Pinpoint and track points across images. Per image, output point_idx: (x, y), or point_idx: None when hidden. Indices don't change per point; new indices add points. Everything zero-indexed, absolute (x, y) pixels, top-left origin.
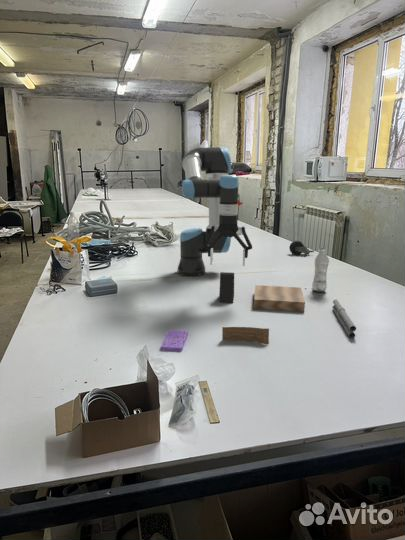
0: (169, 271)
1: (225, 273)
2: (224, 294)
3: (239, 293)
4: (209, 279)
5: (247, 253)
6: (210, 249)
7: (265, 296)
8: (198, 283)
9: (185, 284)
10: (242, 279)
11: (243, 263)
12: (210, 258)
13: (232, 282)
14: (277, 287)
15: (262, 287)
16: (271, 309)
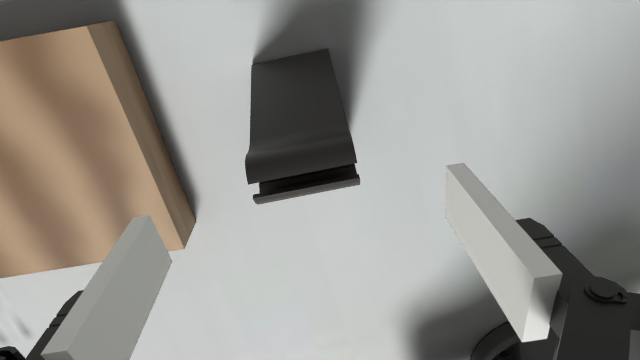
0: None
1: (314, 166)
2: (303, 77)
3: None
4: (439, 307)
5: (42, 338)
6: (560, 289)
7: (51, 102)
8: None
9: None
10: (304, 343)
11: (131, 232)
12: (493, 198)
13: (259, 135)
14: (66, 251)
15: None
16: (19, 37)
